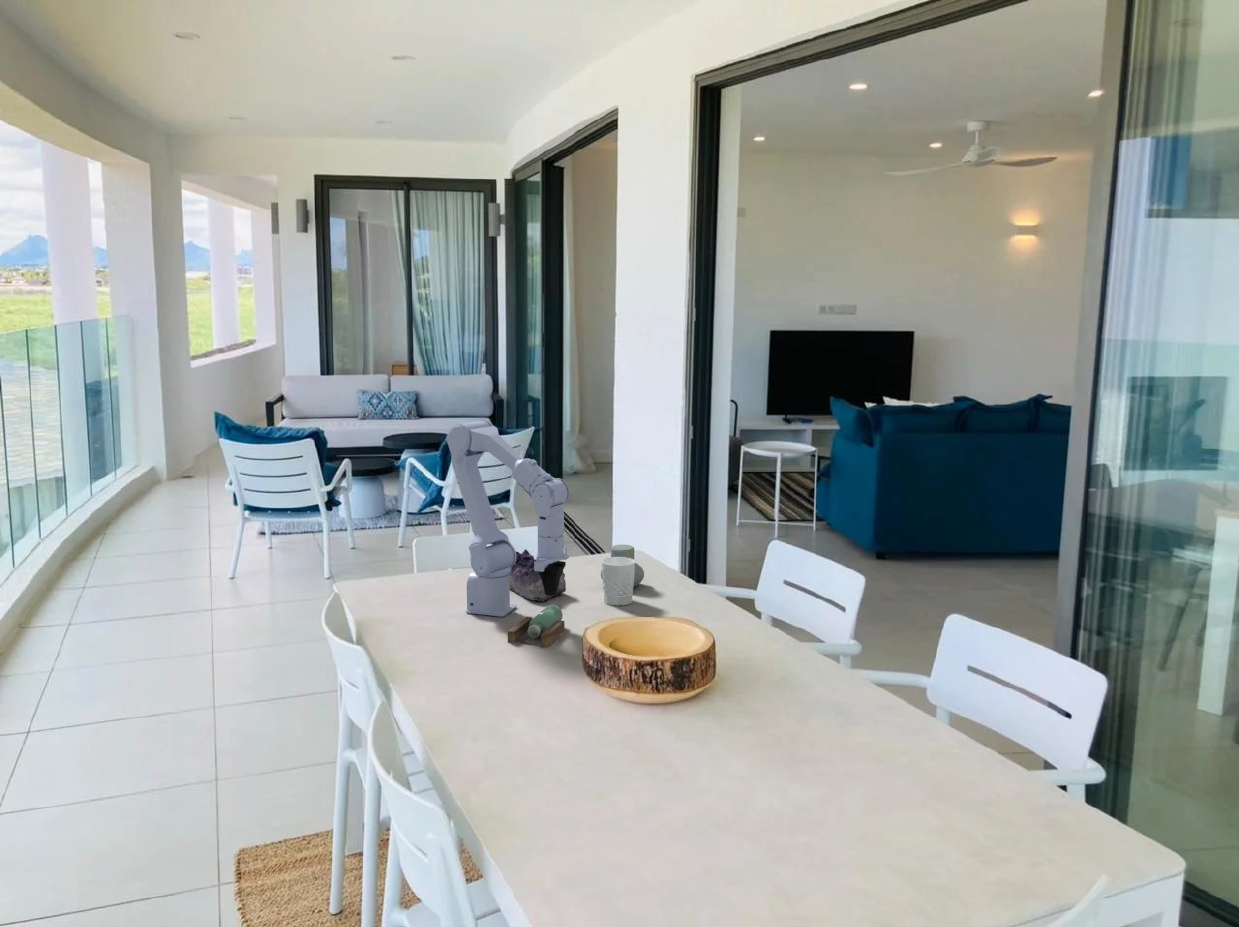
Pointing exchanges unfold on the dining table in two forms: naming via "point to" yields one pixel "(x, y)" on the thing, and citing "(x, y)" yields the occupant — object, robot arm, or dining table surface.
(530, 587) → the geode
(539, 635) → the bottle
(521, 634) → the cradle
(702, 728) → the dining table surface
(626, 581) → the white cup
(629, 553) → the air freshener
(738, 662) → the dining table surface
